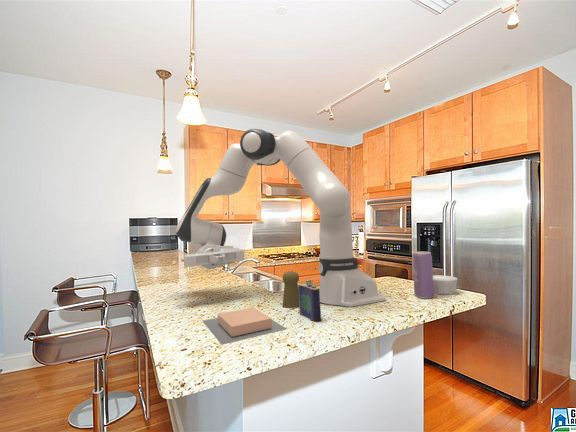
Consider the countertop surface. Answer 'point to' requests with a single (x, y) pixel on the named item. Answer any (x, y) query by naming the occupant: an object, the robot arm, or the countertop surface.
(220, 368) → the countertop surface
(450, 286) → the ramekin
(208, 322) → the slate board
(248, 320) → the tile
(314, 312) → the flask
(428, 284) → the beverage can
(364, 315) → the countertop surface
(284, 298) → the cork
